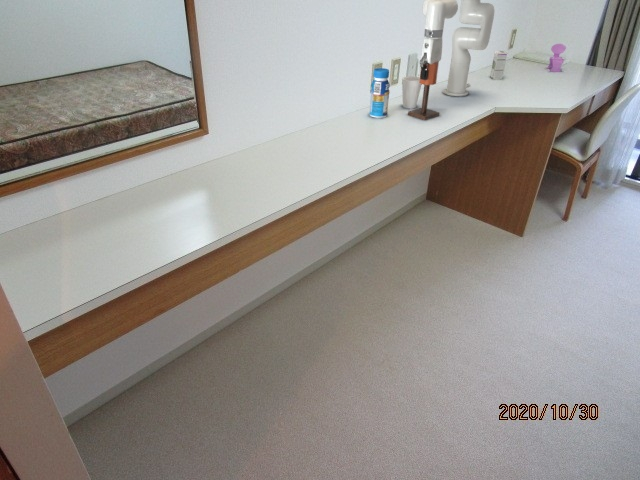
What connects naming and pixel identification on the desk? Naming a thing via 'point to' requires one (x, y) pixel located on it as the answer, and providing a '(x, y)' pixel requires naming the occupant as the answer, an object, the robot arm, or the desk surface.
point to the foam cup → (410, 91)
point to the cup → (430, 74)
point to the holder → (424, 107)
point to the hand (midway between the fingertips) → (428, 77)
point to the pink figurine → (556, 58)
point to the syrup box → (498, 64)
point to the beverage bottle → (379, 93)
